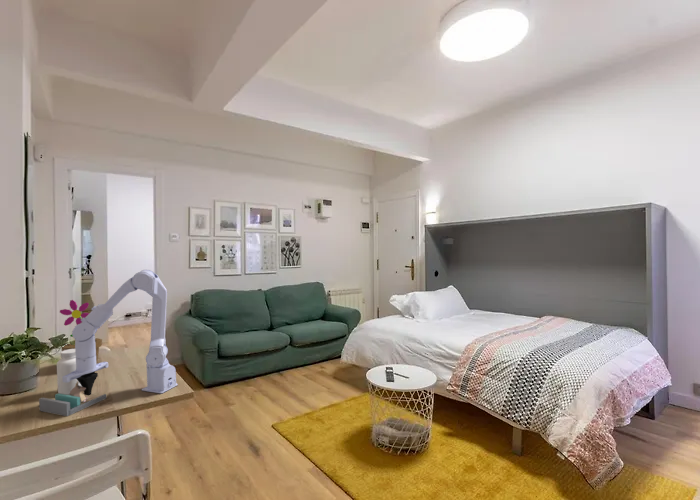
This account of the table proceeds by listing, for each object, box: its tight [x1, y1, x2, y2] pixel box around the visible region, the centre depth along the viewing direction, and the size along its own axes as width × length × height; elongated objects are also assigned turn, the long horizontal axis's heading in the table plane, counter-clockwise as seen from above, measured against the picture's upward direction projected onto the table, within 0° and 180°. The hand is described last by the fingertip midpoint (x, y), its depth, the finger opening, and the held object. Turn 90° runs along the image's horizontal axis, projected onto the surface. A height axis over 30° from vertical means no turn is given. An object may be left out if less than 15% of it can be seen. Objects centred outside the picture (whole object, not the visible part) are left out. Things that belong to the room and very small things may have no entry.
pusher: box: [54, 393, 81, 409], centre depth 119 cm, size 10×1×4 cm, turn 72°
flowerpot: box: [59, 299, 103, 364], centre depth 157 cm, size 14×14×30 cm
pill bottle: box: [56, 349, 82, 395], centre depth 132 cm, size 8×8×15 cm
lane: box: [38, 393, 107, 417], centre depth 121 cm, size 13×13×4 cm
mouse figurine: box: [69, 381, 88, 404], centre depth 122 cm, size 5×8×7 cm, turn 112°
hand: (87, 394), depth 125 cm, fingers closed, pressing on mouse figurine
